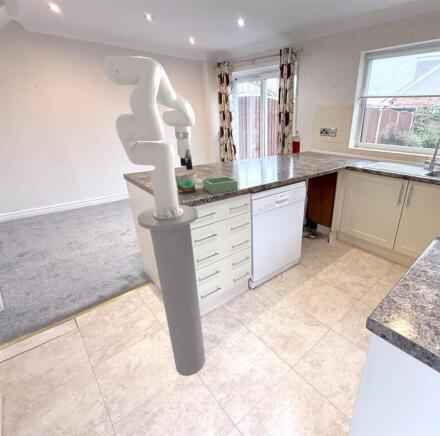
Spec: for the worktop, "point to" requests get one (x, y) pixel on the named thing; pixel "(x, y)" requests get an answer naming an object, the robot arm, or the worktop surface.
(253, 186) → the worktop surface
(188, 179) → the food container
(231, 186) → the tub
